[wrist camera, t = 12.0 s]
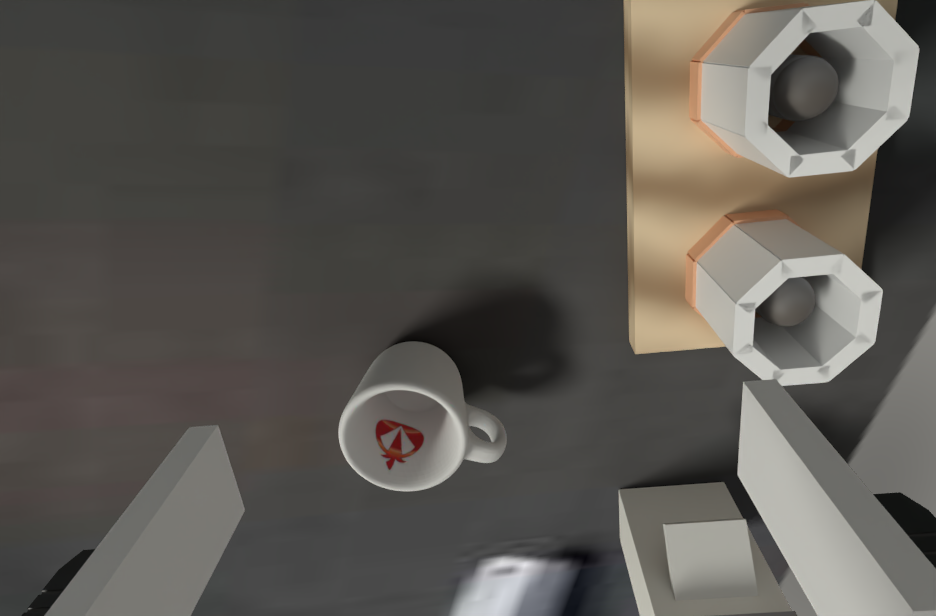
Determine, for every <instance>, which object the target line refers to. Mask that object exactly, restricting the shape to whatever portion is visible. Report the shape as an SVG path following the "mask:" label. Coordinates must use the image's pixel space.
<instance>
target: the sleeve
mask: <svg viewBox="0 0 936 616" xmlns="http://www.w3.org/2000/svg"><path fill="white" fill-rule="evenodd" d="M795 277H803V278H805V279H806V280H807V281H808V282H809V283H810V284H811V286H812V289H813V291H814V294H815V306H814V309H813V311H812V313H811V314H810V316H809V317H808V318H807V319H806V320H804V321H803V322H801V323H799V324H797V325H794V326H786V327H784V326H777V325H774V324H771V323H769V322H767V321H765V320H764V319H763V318H762V317H761V316H760V315H759V314H758V313H757V312H756V311H755V309H756V308H757V307H758V306H759V305H760V304H761V303H762V302H763V301H764V300H765V299H767V298H768V297H769V296H770V295H771V294H772V293H773V292H774V291H775V290H776V289H777V288H778V287H780V286H781V285H782V284H783V283H784V282H785V281H786V280H787V279H788V278H795ZM882 294H883V290H882V288H881V287H879V286H878V285H877V284H876V283H875V282H874V281H873V280H872V279H871V278H870V277H869V276H868V275H866V274H865V273H864V272H863V271H862V270H861V269H860V268H859V267H858V266H857V265H856V264H855V263H853V262H852V261H851V260H850V259H849V258H848V257H847V256H846V255H845V254H843V253H841V252H840V251H838V250H837V249H835V248H833V247H832V246H830V245H828V244H827V243H825V242H823V241H822V240H820V239H818V238H817V237H815V236H813V235H812V234H810V233H809V232H807V231H805V230H804V229H802V228H801V227H800V226H799V225H798V224H797V223H796V222H795V221H794V220H793V219H792V218H790V217H789V216H788V215H786V214H784V213H783V212H781V211H779V210H777V209H774V210H764V211H754V212H744V213H734V214H725V216H722V217H721V218H720V219H719V220H718V221H717V222H716V223H715V224H714V225H713V226H712V227H711V228H710V229H709V230H708V232H707V233H706V234H705V235H704V236H703V237H702V238H701V239H700V240H699V241H698V242H697V243H696V244H695V245H694V246H693V247H692V248H691V249H690V250H689V251H688V254H686V287H685V299H686V301H687V302H688V303H689V305H690V306H691V307H692V308H693V310H695V311H696V312H697V313H698V314H699V315H701V316H702V317H703V318H704V319H705V320H706V321H707V322H708V324H709V325H710V326H711V328H712V329H713V330H714V331H715V333H716V334H717V335H718V337H719V338H720V339H721V341H722V342H723V343H724V344H725V346H726V347H727V348H728V350H729V351H730V352H731V353H732V355H733V356H734V357H735V358H737V359H738V360H739V361H740V362H741V363H743V364H744V365H745V366H746V367H748V368H749V369H750V370H751V371H752V372H754V373H755V374H756V375H757V376H759V377H760V378H761V379H762V380H771V379H776V380H777V381H778V382H779V383H780V385H781V386H786V385H799V384H811V383H823V382H828V381H830V380H832V379H833V378H834V377H835V376H836V375H837V374H839V373H840V372H841V371H842V370H843V369H845V368H846V367H847V366H848V365H849V364H851V363H852V362H853V361H854V360H855V359H857V358H858V357H859V356H860V355H861V354H863V353H864V352H865V351H866V350H867V349H869V348H870V347H871V346H872V345H873V344H874V343H875V340H876V333H877V327H878V320H879V314H880V307H881V300H882Z"/></svg>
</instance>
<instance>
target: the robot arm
mask: <svg viewBox="0 0 936 616" xmlns="http://www.w3.org/2000/svg"><path fill="white" fill-rule="evenodd" d="M737 475H738V477H739V479H740V480H741V482H742V484H743V486H744V487H745V489H746V491H747V493H748V494H749V496H750V498H751V500H752V501H753V503H754V505H755V507H756V508H757V510H758V512H759V514H760V515H761V517H762V519H763V521H764V522H765V524H766V526H767V528H768V529H769V531H770V533H771V535H772V536H773V538H774V540H775V542H776V543H777V545H778V547H779V549H780V550H781V552H782V554H783V556H784V557H785V559H786V561H787V563H788V565H789V566H790V568H791V570H792V572H793V573H794V575H795V577H796V578H797V580H798V582H799V584H800V586H801V587H802V589H803V591H804V592H805V594H806V596H807V598H808V600H809V601H810V603H811V605H812V607H813V608H814V610H815V612H816V614H817V615H818V616H936V518H935V517H934V516H933V515H932V514H931V512H930V511H929V510H927V509H926V508H924V507H923V506H921V505H920V504H918V503H916V502H915V501H913V500H911V499H910V498H908V497H907V496H905V495H903V494H902V493H886V494H872V492H871V491H870V490H869V489H868V488H867V487H866V485H865V484H864V483H863V482H862V481H861V480H860V478H859V477H858V476H857V475H856V473H855V472H854V471H853V470H852V469H851V468H850V466H849V465H848V464H847V463H846V462H845V460H844V459H843V458H842V457H841V456H840V455H839V453H838V452H837V451H836V450H835V449H834V447H833V446H832V445H831V444H830V443H829V441H828V440H827V439H826V438H825V437H824V436H823V434H822V433H821V432H820V431H819V430H818V428H817V427H816V426H815V425H814V424H813V422H812V421H811V420H810V419H809V418H808V417H807V415H806V414H805V413H804V412H803V411H802V409H801V408H800V407H799V406H798V405H797V404H796V402H795V401H794V400H793V399H792V398H791V396H790V395H789V394H788V393H787V392H786V390H785V389H784V388H783V387H782V386H781V385H780V383H779V382H778V381H777V380H776V379H771V380H759V381H747V382H743V394H742V409H741V425H740V441H739V457H738V473H737ZM244 511H245V509H244V506H243V502H242V499H241V496H240V493H239V490H238V487H237V483H236V480H235V477H234V474H233V471H232V468H231V464H230V461H229V458H228V455H227V452H226V449H225V445H224V442H223V439H222V436H221V433H220V430H219V426H218V425H212V426H200V427H189V428H188V430H187V431H186V432H185V434H184V435H183V436H182V437H181V439H180V440H179V441H178V443H177V444H176V445H175V447H174V448H173V449H172V450H171V452H170V453H169V454H168V456H167V457H166V458H165V460H164V461H163V462H162V463H161V465H160V466H159V467H158V469H157V470H156V471H155V473H154V474H153V475H152V476H151V478H150V479H149V480H148V482H147V483H146V484H145V486H144V487H143V488H142V489H141V491H140V492H139V493H138V495H137V496H136V497H135V499H134V500H133V501H132V502H131V504H130V505H129V506H128V508H127V509H126V510H125V512H124V513H123V514H122V515H121V517H120V518H119V519H118V521H117V522H116V523H115V525H114V526H113V527H112V528H111V530H110V531H109V532H108V534H107V535H106V536H105V538H104V539H103V540H102V541H101V543H100V544H99V545H98V547H97V548H96V549H93V550H83V551H82V552H80V553H79V554H78V555H77V556H75V557H74V558H73V559H72V560H70V561H69V562H68V563H67V564H65V565H64V566H63V567H62V568H60V569H59V570H58V571H57V573H56V574H55V575H54V576H53V578H52V579H51V580H50V581H49V583H48V584H47V585H46V586H45V588H44V589H43V590H42V594H41V595H38V596H37V597H36V599H35V600H34V601H33V602H32V604H31V605H30V606H29V607H28V612H27V613H23V615H22V616H191V614H192V612H193V610H194V608H195V606H196V604H197V602H198V600H199V598H200V596H201V594H202V592H203V590H204V589H205V587H206V585H207V583H208V581H209V579H210V577H211V575H212V573H213V571H214V569H215V567H216V565H217V563H218V561H219V560H220V558H221V556H222V554H223V552H224V550H225V548H226V546H227V544H228V542H229V540H230V538H231V536H232V534H233V532H234V530H235V529H236V527H237V525H238V523H239V521H240V519H241V517H242V515H243V513H244Z"/></svg>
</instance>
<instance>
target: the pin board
mask: <svg viewBox="0 0 936 616" xmlns="http://www.w3.org/2000/svg"><path fill="white" fill-rule="evenodd" d="M856 1H866V0H624V53H625V114H626V174H627V235H628V296H629V342H630V344H631V346H632V348H633V350H634V352H635V354H643V353H655V352H666V351H678V350H690V349H701V348H713V347H724V346H725V344H724V343H723V342H722V341H721V339H720V338H719V337H718V335H717V334H716V333H715V331H714V330H713V329H712V328H711V326H710V325H709V324H708V322H707V321H706V320H705V319H704V318H703V317H702V316H701V315H699V314H698V313H697V312H696V311H695V310H693V308H692V307H691V306H690V305H689V303H688V302H687V301H686V299H685V287H686V254H688V251H689V250H690V249H691V248H692V247H693V246H694V245H695V244H696V243H697V242H698V241H699V240H700V239H701V238H702V237H703V236H704V235H705V234H706V233H707V232H708V230H709V229H710V228H711V227H712V226H713V225H714V224H715V223H716V222H717V221H718V220H719V219H720V218H721V217H722V216H725V214H734V213H744V212H754V211H764V210H774V209H777V210H779V211H781V212H783V213H784V214H786V215H788V216H789V217H790V218H792V219H793V220H794V221H795V222H796V223H797V224H798V225H799V226H800V227H801V228H802V229H804V230H805V231H807V232H809V233H810V234H812V235H813V236H815V237H817V238H818V239H820V240H822V241H823V242H825V243H827V244H828V245H830V246H832V247H833V248H835V249H837V250H838V251H840V252H841V253H843V254H845V255H846V256H847V257H848V258H849V259H850V260H851V261H852V262H853V263H855V264H856V265H857V266H858V267H859V268H860V269H861V268H862V261H863V253H864V246H865V238H866V231H867V224H868V216H869V209H870V202H871V194H872V187H873V179H874V172H875V165H876V157H877V150H878V149H877V150H876V151H875V152H874V153H872V154H871V155H870V156H869V157H868V158H867V159H866V160H865V161H864V162H863V163H862V164H861V165H860V166H859V167H858V168H857V169H856V170H854V171H848V172H839V173H829V174H820V175H810V176H800V177H791V178H789V177H786V176H784V175H782V174H780V173H778V172H775V171H773V170H771V169H769V168H767V167H765V166H763V165H760V164H758V163H756V162H754V161H752V160H750V159H747V158H745V157H741V158H737V157H734V156H732V155H730V154H728V153H726V152H725V151H724V150H723V149H721V148H720V147H719V146H718V145H717V144H716V143H715V142H714V141H713V140H712V139H711V138H709V137H708V136H707V135H706V134H705V133H704V132H703V131H702V130H701V129H700V128H699V127H698V126H696V125H695V124H694V123H693V122H692V121H691V120H690V119H691V118H689V92H690V62H691V61H693V60H692V58H693V57H694V55H695V54H696V53H697V52H698V51H699V50H700V49H701V47H702V46H703V45H704V44H705V43H706V42H707V41H708V39H709V38H710V37H711V36H712V35H713V34H714V33H715V31H716V30H717V29H718V28H719V27H720V26H721V25H722V23H723V22H724V21H725V20H726V19H727V18H728V17H729V15H730V14H731V13H732V12H735V11H738V10H746V9H754V8H762V7H770V6H778V5H786V4H795V3H804V2H805V3H808V4H809V6H816V5H826V4H836V3H846V2H856ZM876 1H877V2H878V3H879V4H880V5H881V6H882V7H883V8H884V9H885V10H886V11H887V13H888V14H889V15H890V16H891V17H892V18H893V19H894V20H895V17H896V10H897V3H898V0H876ZM838 86H839V81H838V76H837V73H836V71H835V69H834V68H833V67H832V65H830V64H829V63H828V62H827V61H826V60H824V59H823V58H820V57H817V56H809V55H807V54H806V53H805V52H804V51H803V50H802V49H801V48H800V47H799V46H797V48H796V49H795V50H794V51H793V52H792V53H791V54H790V55H789V56H788V57H787V58H786V59H785V60H784V61H783V63H782V64H781V65H780V66H779V67H778V68H777V69H776V70H775V71H774V72H773V73H772V74H771V83H770V97H769V112H768V126H769V127H770V128H774V127H776V126H777V125H778V124H779V123H780V122H781V121H782V120H783V119H786V120H790V121H796V122H799V121H806V120H809V119H812V118H814V117H817V116H818V115H820V114H822V113H823V112H824V111H826V110H827V109H828V108H829V107H830V105H831V104H832V103H833V101H834V99H835V97H836V95H837V92H838ZM814 306H815V294H814V291H813V289H812V286H811V284H810V283H809V282H808V281H807V280H806V279H805V278H803V277H795V278H788V279H787V280H786V281H785V282H784V283H783V284H782V285H781V286H780V287H778V288H777V289H776V290H775V291H774V292H773V293H772V294H771V295H770V296H769V297H768V298H767V299H765V300H764V301H763V302H762V303H761V304H760V305H759V306H758V307H757V308H756V309H755V311H756V312H757V313H758V314H759V315H760V316H761V317H762V318H763V319H764V320H765V321H767V322H769V323H771V324H774V325H777V326H784V327H786V326H794V325H797V324H799V323H801V322H803V321H804V320H806V319H807V318H808V317H809V316H810V314H811V313H812V311H813V309H814Z"/></svg>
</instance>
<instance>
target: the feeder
mask: <svg viewBox="0 0 936 616" xmlns="http://www.w3.org/2000/svg"><path fill="white" fill-rule="evenodd" d="M619 522H620V541H621V545H622V549H623V553H624V556H625V560H626V564H627V568H628V572H629V576H630V579H631V583H632V587H633V591H634V595H635V598H636V602H637V606H638V610H639V614H640V616H797V615H796V612H795V611H792V610H791V608H790V606H789V604H788V602H787V600H786V598H785V596H784V595H783V593H782V591H781V589H780V587H779V585H778V583H777V581H776V579H775V578H774V576H773V574H772V572H771V570H770V568H769V566H768V564H767V562H766V561H765V559H764V557H763V555H762V553H761V551H760V549H759V547H758V546H757V544H756V542H755V540H754V538H753V536H752V534H751V532H750V530H749V529H748V527H747V522H746V519H743V517H742V515H741V513H740V512H739V510H738V508H737V506H736V504H735V502H734V500H733V498H732V496H731V495H730V493H729V491H728V489H727V487H726V485H725V483H724V482H716V483H702V484H688V485H674V486H660V487H646V488H632V489H619Z"/></svg>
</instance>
